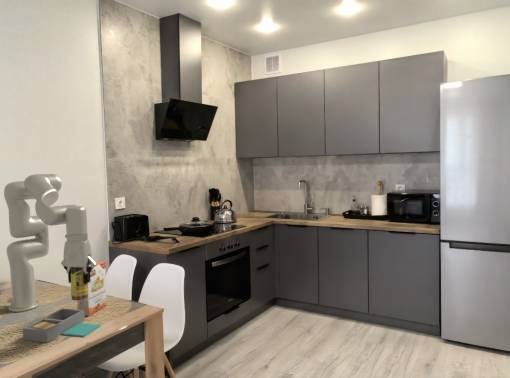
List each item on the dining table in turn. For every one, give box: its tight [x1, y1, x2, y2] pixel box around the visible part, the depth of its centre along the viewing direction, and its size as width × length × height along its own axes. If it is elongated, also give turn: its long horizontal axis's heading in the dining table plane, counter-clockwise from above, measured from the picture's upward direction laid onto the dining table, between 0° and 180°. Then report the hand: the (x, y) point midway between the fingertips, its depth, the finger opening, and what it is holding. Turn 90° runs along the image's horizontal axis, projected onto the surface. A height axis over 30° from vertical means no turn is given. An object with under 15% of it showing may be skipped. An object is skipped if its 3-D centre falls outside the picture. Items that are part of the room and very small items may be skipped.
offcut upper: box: [32, 322, 56, 330], centre depth 153 cm, size 7×5×2 cm
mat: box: [61, 322, 101, 338], centre depth 157 cm, size 10×10×1 cm
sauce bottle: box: [70, 267, 88, 301], centre depth 155 cm, size 7×6×20 cm
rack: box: [22, 307, 86, 343], centre depth 158 cm, size 11×21×4 cm, turn 166°
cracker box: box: [77, 261, 108, 317], centre depth 178 cm, size 14×6×21 cm, turn 168°
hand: (79, 282), depth 156 cm, fingers closed on sauce bottle, 6 cm apart
